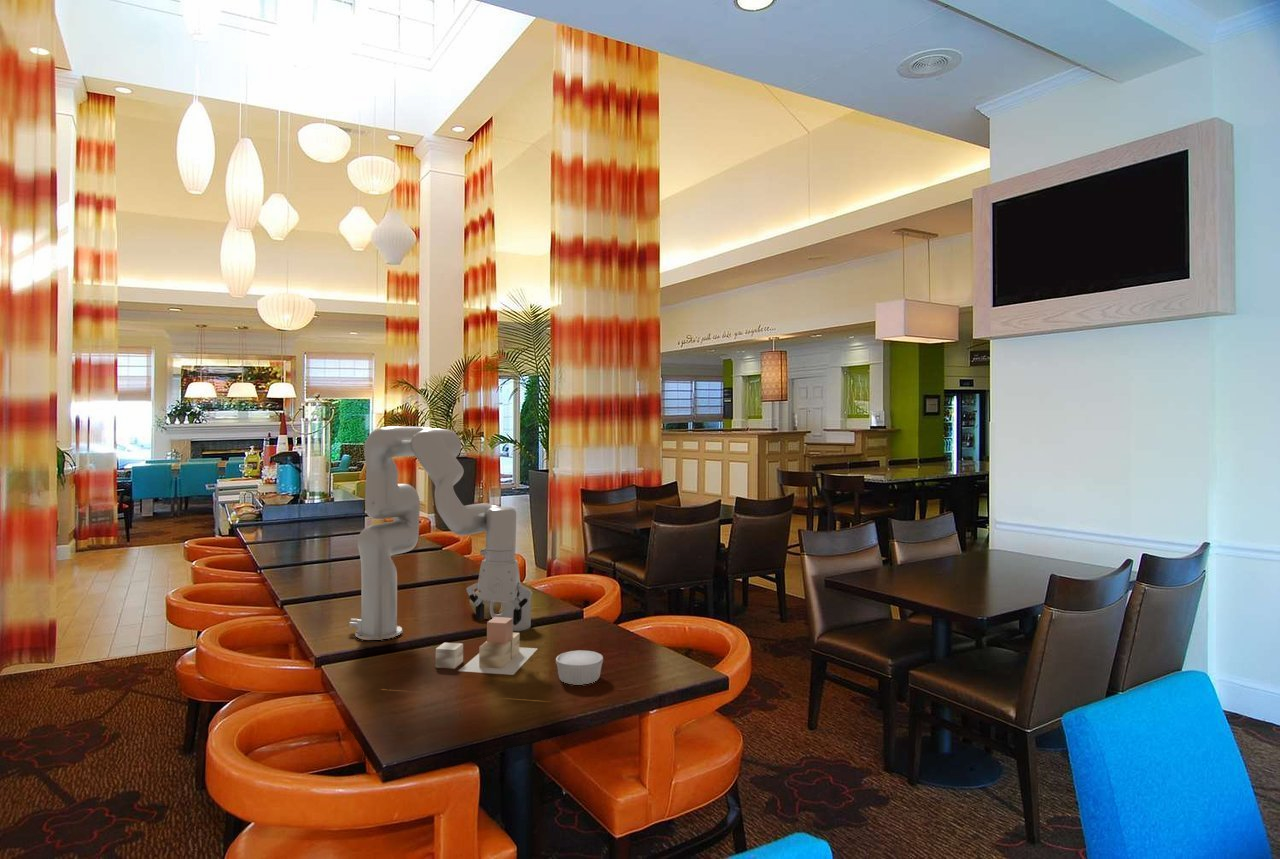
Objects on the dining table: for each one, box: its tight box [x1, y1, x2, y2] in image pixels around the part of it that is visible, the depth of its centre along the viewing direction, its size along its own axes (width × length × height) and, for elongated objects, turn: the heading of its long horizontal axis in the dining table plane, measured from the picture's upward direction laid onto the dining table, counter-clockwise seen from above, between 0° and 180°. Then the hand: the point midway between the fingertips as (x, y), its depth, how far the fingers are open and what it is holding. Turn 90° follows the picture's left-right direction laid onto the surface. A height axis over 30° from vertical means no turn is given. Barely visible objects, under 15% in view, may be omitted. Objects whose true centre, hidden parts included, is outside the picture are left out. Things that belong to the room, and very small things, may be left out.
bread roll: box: [469, 590, 502, 620], centre depth 222 cm, size 10×15×8 cm, turn 24°
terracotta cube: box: [486, 617, 514, 643], centre depth 180 cm, size 5×5×5 cm
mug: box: [490, 587, 532, 632], centre depth 208 cm, size 12×8×11 cm
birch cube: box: [435, 642, 464, 670], centre depth 175 cm, size 5×5×5 cm
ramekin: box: [555, 649, 604, 686], centre depth 167 cm, size 11×11×5 cm
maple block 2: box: [509, 631, 521, 659], centre depth 183 cm, size 6×6×5 cm
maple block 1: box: [478, 640, 511, 669], centre depth 176 cm, size 6×6×5 cm
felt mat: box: [458, 646, 539, 676], centre depth 180 cm, size 14×20×1 cm
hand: (498, 622), depth 180 cm, fingers open, 9 cm apart
